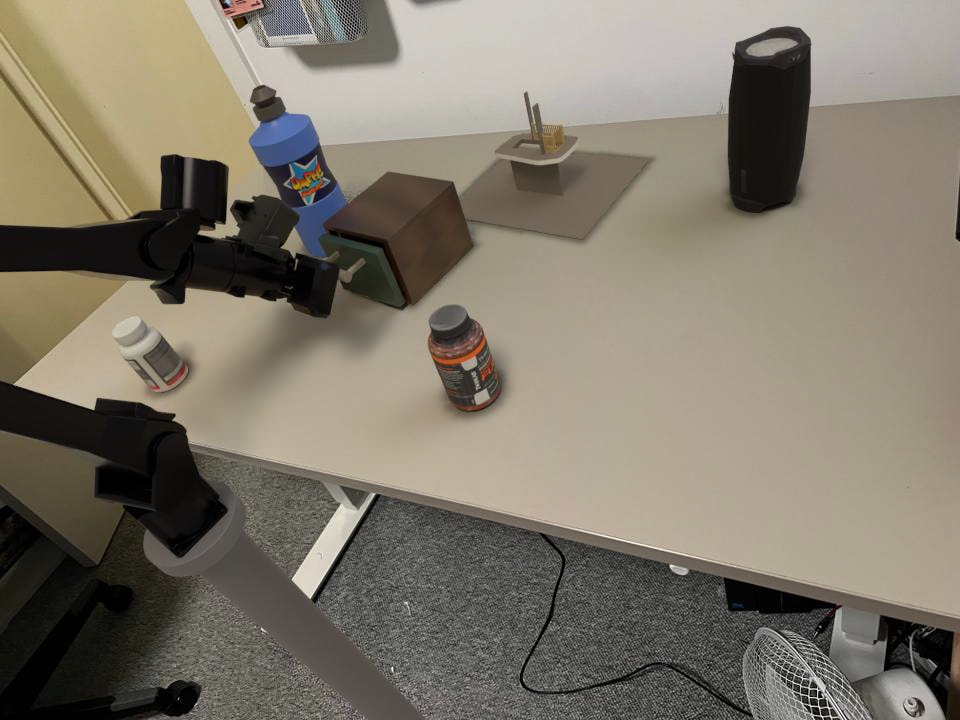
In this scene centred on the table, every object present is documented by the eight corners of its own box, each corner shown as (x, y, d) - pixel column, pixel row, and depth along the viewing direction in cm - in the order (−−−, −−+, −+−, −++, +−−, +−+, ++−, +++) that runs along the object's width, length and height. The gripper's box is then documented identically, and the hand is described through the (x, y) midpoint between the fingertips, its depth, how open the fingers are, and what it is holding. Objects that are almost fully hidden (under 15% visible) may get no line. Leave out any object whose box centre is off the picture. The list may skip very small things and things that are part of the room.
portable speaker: (768, 171, 86) (780, 17, 73) (816, 199, 79) (838, 36, 66) (711, 193, 85) (713, 43, 72) (754, 224, 78) (764, 65, 65)
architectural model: (513, 148, 109) (495, 65, 100) (649, 159, 96) (642, 65, 86) (442, 215, 99) (414, 130, 90) (582, 239, 85) (566, 142, 76)
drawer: (379, 327, 81) (353, 273, 75) (323, 307, 88) (295, 256, 82) (456, 252, 89) (438, 198, 83) (399, 239, 95) (379, 188, 90)
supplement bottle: (502, 409, 67) (475, 331, 60) (448, 417, 68) (415, 342, 61) (501, 369, 71) (476, 292, 64) (451, 377, 72) (420, 303, 65)
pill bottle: (189, 359, 88) (147, 306, 82) (189, 383, 84) (145, 329, 78) (152, 375, 88) (107, 323, 81) (150, 399, 84) (103, 347, 77)
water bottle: (368, 237, 100) (300, 80, 83) (316, 265, 98) (235, 109, 81) (348, 217, 107) (280, 67, 90) (298, 242, 105) (220, 94, 88)
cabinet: (414, 305, 84) (386, 239, 77) (352, 285, 91) (321, 223, 84) (473, 246, 91) (453, 181, 84) (411, 232, 98) (387, 171, 91)
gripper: (286, 202, 61) (397, 232, 74) (188, 180, 72) (299, 210, 85) (265, 313, 63) (377, 324, 76) (172, 276, 74) (284, 291, 86)
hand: (332, 283), depth 81 cm, fingers closed, pressing on drawer
